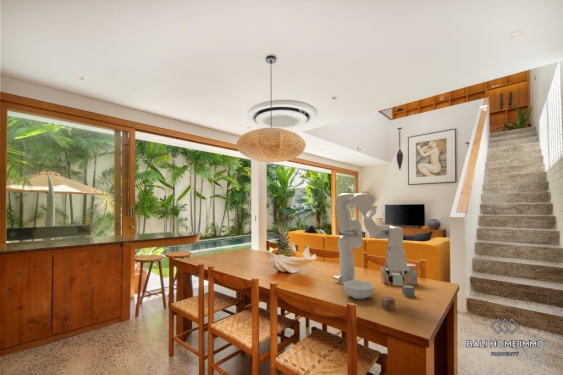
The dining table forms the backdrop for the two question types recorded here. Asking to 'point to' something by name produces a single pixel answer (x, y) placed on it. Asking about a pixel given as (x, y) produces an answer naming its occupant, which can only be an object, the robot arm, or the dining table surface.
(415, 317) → the dining table surface
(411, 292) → the gray cube
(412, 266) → the stack of blocks
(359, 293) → the cereal bowl
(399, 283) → the sage green cube
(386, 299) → the walnut cube
